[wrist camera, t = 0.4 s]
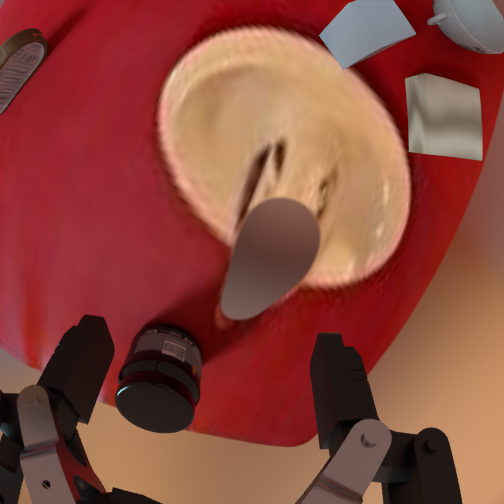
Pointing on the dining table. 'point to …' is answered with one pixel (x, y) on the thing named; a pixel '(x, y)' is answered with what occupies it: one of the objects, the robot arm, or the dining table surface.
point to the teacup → (470, 24)
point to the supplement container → (160, 379)
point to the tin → (19, 62)
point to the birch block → (443, 117)
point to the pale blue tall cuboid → (365, 30)
